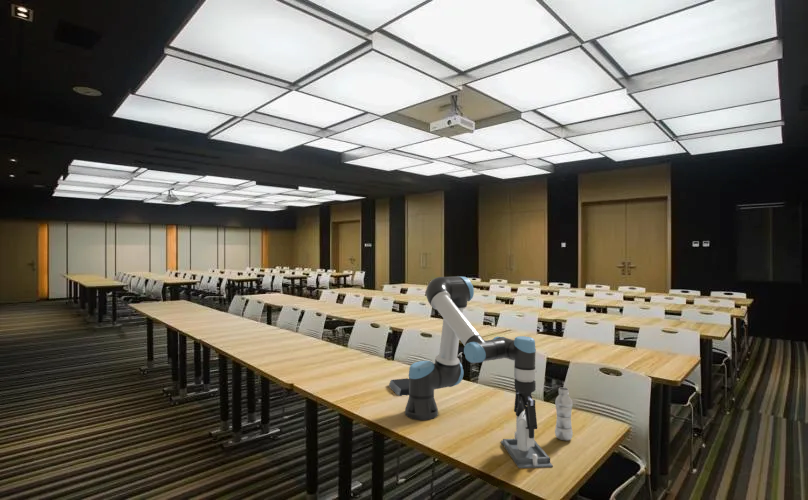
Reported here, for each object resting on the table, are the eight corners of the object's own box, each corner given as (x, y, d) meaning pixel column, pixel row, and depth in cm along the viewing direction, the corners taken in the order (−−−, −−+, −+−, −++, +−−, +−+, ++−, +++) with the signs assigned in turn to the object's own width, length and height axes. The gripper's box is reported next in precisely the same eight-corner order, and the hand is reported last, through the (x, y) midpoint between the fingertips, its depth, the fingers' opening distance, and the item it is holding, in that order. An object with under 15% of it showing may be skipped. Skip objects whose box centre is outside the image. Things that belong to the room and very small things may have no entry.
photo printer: (522, 439, 158) (522, 406, 158) (533, 441, 156) (533, 408, 156) (515, 450, 149) (515, 415, 149) (528, 452, 146) (528, 418, 147)
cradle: (518, 468, 142) (518, 456, 142) (501, 442, 162) (501, 431, 162) (552, 467, 142) (552, 455, 142) (530, 441, 162) (530, 431, 162)
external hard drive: (397, 397, 214) (397, 389, 215) (387, 386, 233) (387, 378, 233) (421, 394, 218) (421, 387, 219) (409, 384, 237) (409, 376, 237)
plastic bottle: (552, 435, 167) (551, 386, 168) (568, 435, 168) (567, 386, 168) (559, 443, 161) (559, 391, 161) (575, 442, 161) (575, 391, 162)
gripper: (547, 388, 142) (547, 453, 141) (523, 370, 164) (524, 427, 163) (526, 389, 141) (526, 454, 141) (505, 371, 163) (505, 427, 163)
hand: (525, 439), depth 152 cm, fingers closed on photo printer, 10 cm apart
